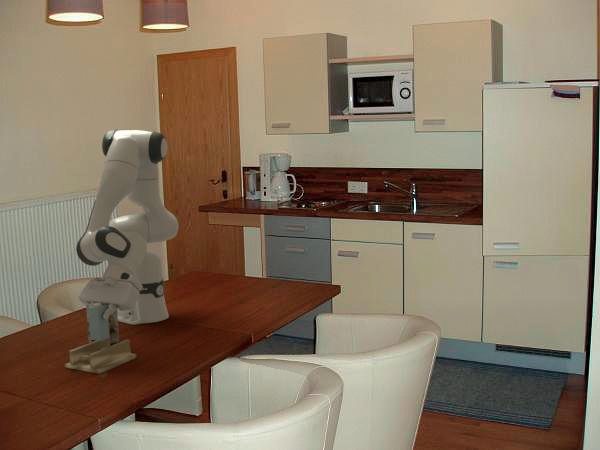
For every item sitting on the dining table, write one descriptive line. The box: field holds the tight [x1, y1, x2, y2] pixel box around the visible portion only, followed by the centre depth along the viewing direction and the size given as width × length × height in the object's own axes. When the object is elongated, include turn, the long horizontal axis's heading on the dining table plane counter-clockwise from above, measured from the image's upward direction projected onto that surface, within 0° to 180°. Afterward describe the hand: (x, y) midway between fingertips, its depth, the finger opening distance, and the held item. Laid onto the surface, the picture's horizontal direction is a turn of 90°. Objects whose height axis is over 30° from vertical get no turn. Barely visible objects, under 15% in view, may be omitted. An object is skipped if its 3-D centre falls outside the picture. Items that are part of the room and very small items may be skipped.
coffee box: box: [85, 305, 120, 345], centre depth 249 cm, size 9×6×16 cm
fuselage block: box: [88, 303, 110, 341], centre depth 227 cm, size 4×4×11 cm
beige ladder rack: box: [64, 337, 137, 374], centre depth 229 cm, size 14×16×5 cm
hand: (97, 317), depth 227 cm, fingers closed on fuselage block, 4 cm apart
